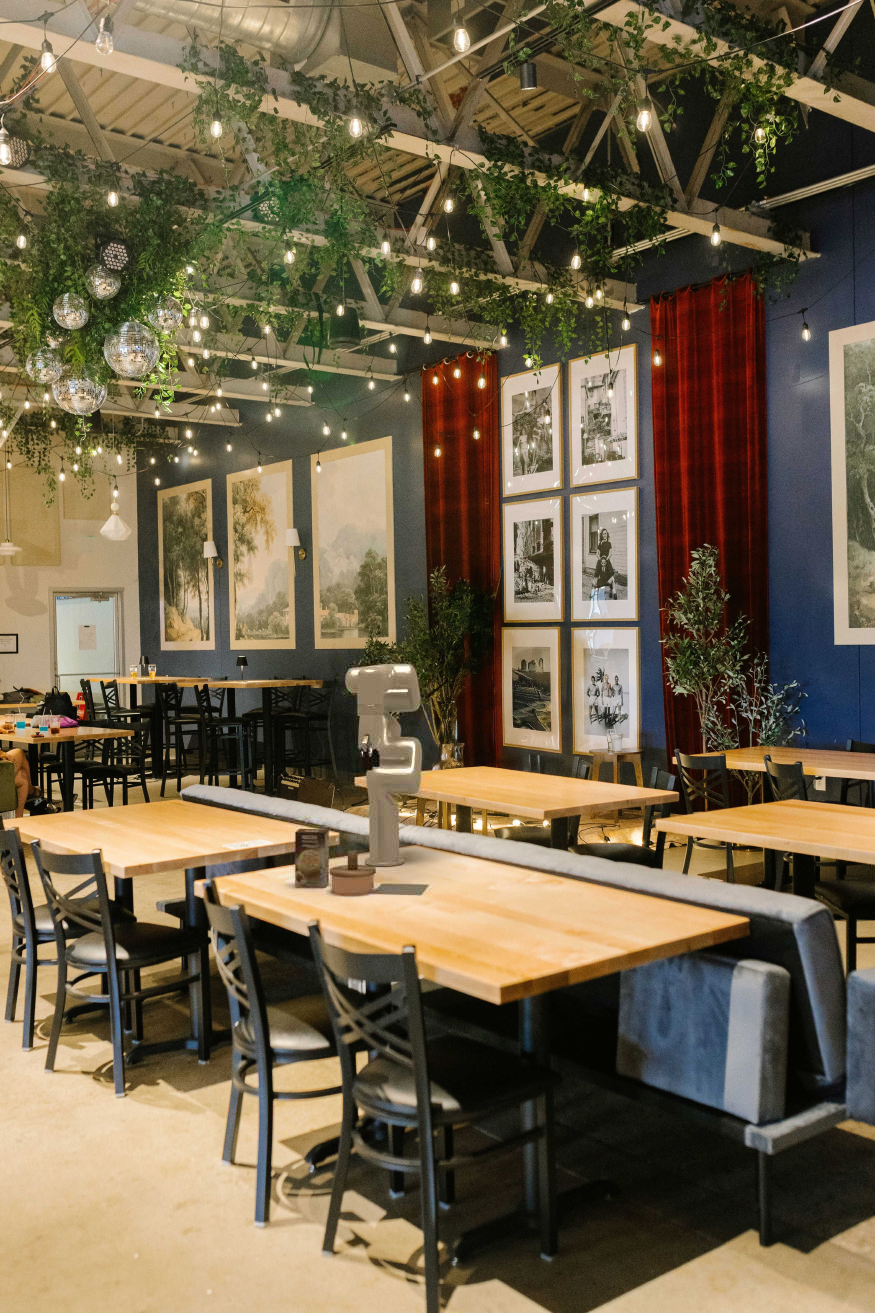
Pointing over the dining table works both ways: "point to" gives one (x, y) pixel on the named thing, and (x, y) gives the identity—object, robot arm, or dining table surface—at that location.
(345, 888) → the bowl
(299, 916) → the dining table surface
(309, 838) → the coffee box
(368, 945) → the dining table surface
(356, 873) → the lid
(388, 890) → the mat
